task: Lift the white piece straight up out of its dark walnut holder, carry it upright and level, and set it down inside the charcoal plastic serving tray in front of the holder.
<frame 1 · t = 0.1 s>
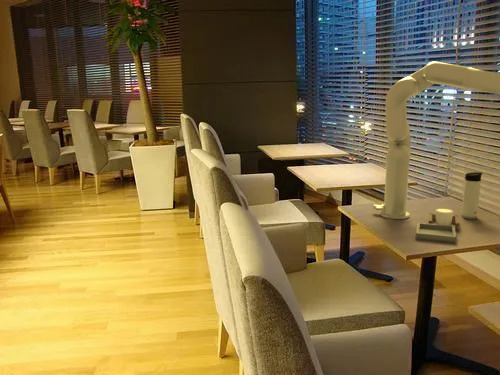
travel mug: (469, 217, 209), on the table
walnut holder: (443, 226, 196), on the table
white piece: (443, 227, 196), on the table
serving tray: (435, 235, 185), on the table
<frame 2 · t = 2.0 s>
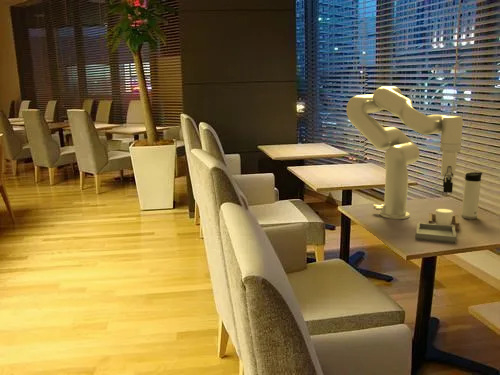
hand: (447, 189, 192), 16 cm above the table, tool pointing down, fingers open, 9 cm apart
nothing on the table moved.
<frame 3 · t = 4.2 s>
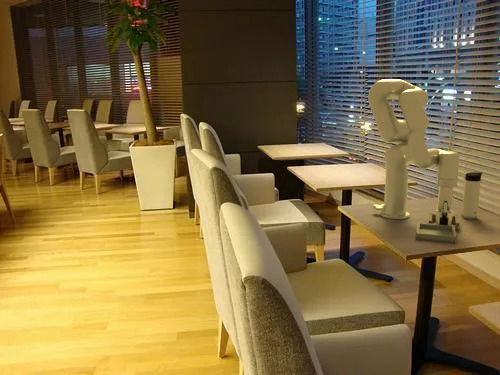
hand: (443, 224, 196), 1 cm above the table, tool pointing down, fingers closed on white piece, 5 cm apart
white piece: (443, 227, 196), on the table, touching gripper
everything else where it was.
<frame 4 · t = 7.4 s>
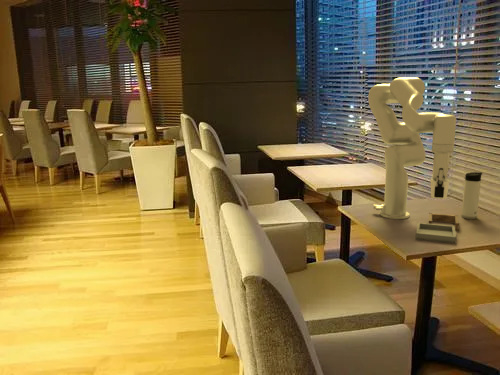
hand: (438, 194, 182), 16 cm above the table, tool pointing down, fingers closed on white piece, 5 cm apart
white piece: (438, 197, 182), point 15 cm above the table, touching gripper
everything else where it was.
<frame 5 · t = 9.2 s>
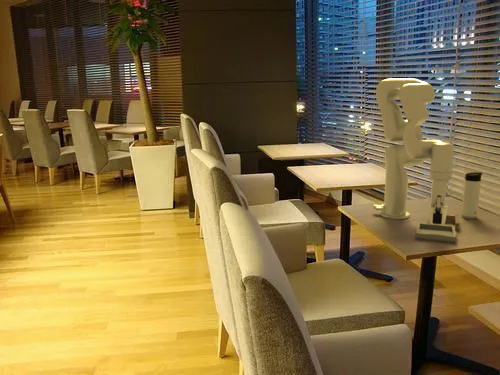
hand: (436, 220, 184), 6 cm above the table, tool pointing down, fingers closed on white piece, 5 cm apart
white piece: (436, 223, 184), point 5 cm above the table, touching gripper
everything else where it was.
when the fingers open (3 cm above the table, at t = 10.7 s): white piece drops 2 cm, resting on serving tray.
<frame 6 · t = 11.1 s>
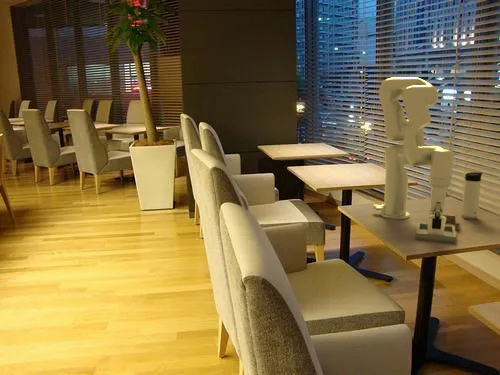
hand: (436, 225, 184), 4 cm above the table, tool pointing down, fingers open, 9 cm apart
white piece: (435, 234, 185), point 1 cm above the table, touching serving tray
everything else where it was.
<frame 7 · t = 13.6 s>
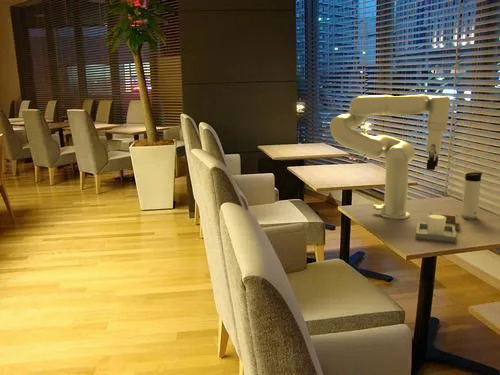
hand: (431, 167, 199), 23 cm above the table, tool pointing down, fingers open, 9 cm apart
nothing on the table moved.
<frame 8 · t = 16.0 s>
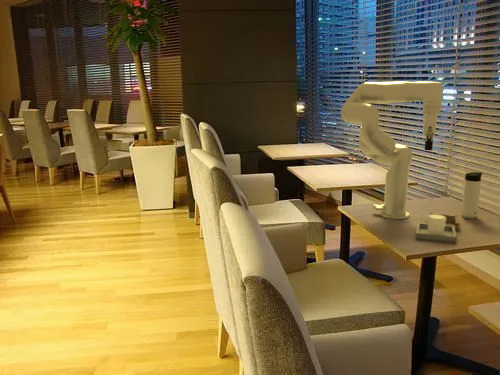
hand: (428, 148, 216), 28 cm above the table, tool pointing down, fingers open, 9 cm apart
nothing on the table moved.
at the end: white piece inside the target area on the serving tray (0.2 cm from its centre), point 0.6 cm above the serving tray's base; white piece tilted 0°; the gripper is holding nothing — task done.
